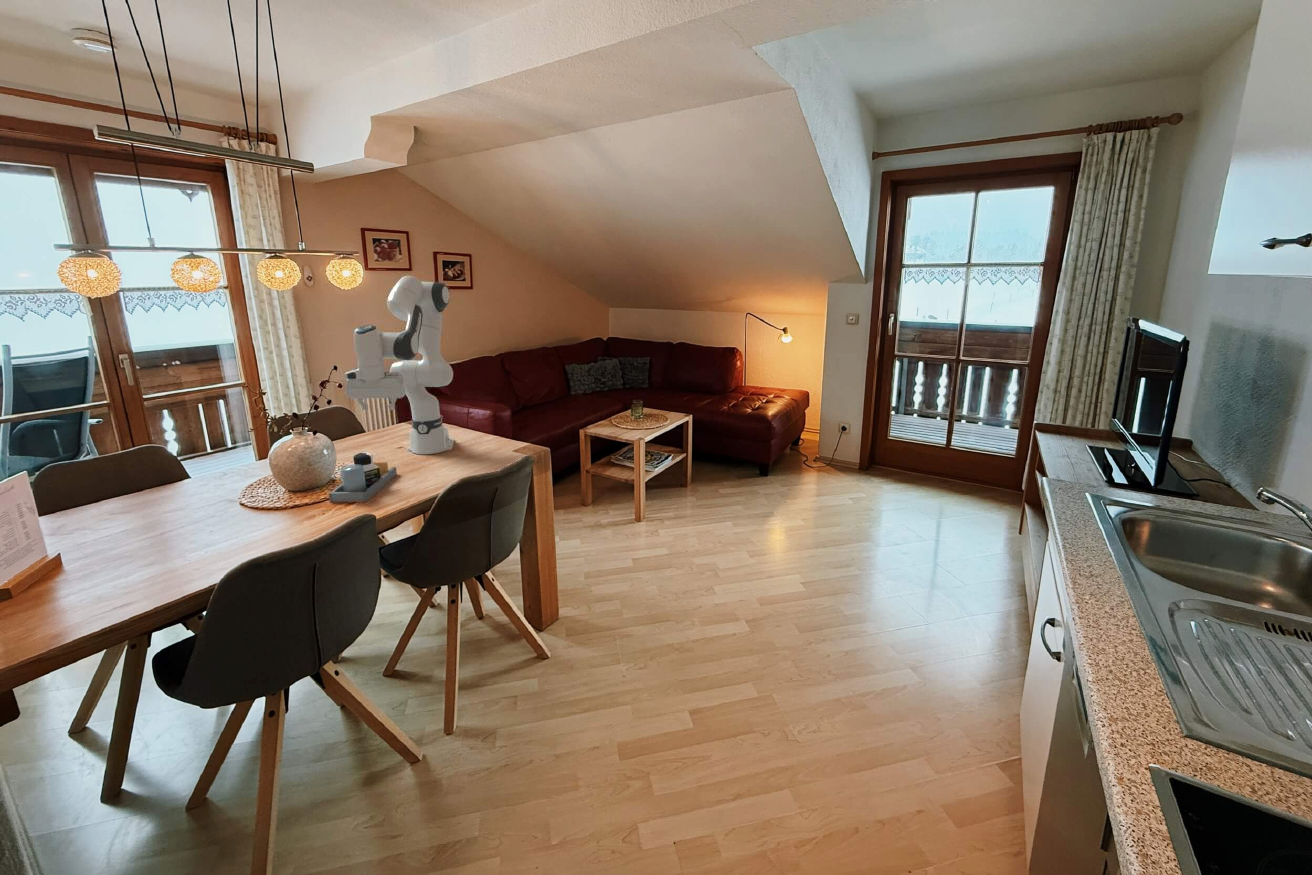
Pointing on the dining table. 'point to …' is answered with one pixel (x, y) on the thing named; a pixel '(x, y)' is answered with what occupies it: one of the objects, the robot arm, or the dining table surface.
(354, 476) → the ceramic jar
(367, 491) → the blue-grey tray
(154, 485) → the dining table surface
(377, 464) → the block
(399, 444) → the dining table surface
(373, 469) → the medicine bottle
